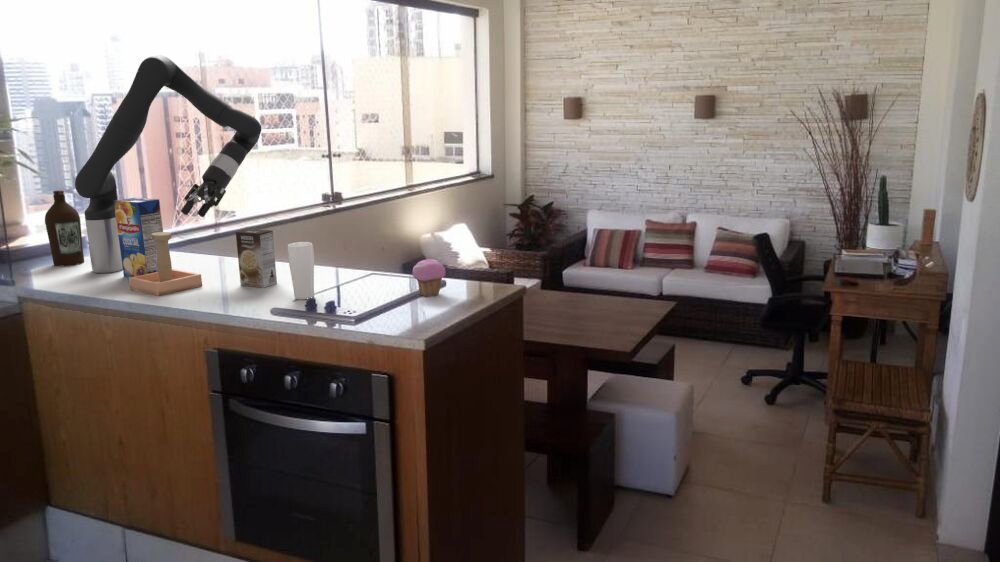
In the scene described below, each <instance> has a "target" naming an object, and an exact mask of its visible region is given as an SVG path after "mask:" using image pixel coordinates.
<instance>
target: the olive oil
mask: <svg viewBox="0 0 1000 562" xmlns="http://www.w3.org/2000/svg"><path fill="white" fill-rule="evenodd" d="M64 191H65V190H63V189H59V190H53V191H52V193H53V196H52V197H53V203H52V205H51V206H50V208H49V209H48V210H47V211H46V212H45V216H44V224H45V227H46V233H47V237H48V241H49V243H48V244H49V248H50V251H51V259H52V263H53V265H54V267H55V266H56V267H67V266H69V267H71V266H76V265H80V264H83V263H84V262H85V255H84V246H83V245H84V244H83V237H82V235H83V234H82V224H81V217H80V214H79V211H77V210H76V209H75V208H74V207H73V206H72V205H70V204H69V203H68V202H67V201H66V196H65V194H64Z"/></svg>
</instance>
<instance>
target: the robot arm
mask: <svg viewBox="0 0 1000 562" xmlns="http://www.w3.org/2000/svg"><path fill="white" fill-rule="evenodd" d="M164 87H166V88H168V89H170V90H172V91H174V92H176V93H177V94H179V95H181V96H182V97H183V98H185V99H186V100H187V101H188V102H189V103H190V104H191V105H192V106H193V107H194V108H196V110H198V112H200V113H201V114H202V115H204V117H206V118H207V119H210V120H211V121H213V122H214V123H215V124H217V125H218V126H220V127H222V128H227V127H229V128H231V129H233V130H235V133H234V135H233V136H232V137H231V139H230V141H227V142H226V143H225V144H224V146H223V147H222V149H220V151H219V153H218V154H217V155H216V156H215V157H214V159H213V160H212V161H211V162H210V165H208V167H207V168H206V170H205V172H204V173H203V175H202V177H201V179H202V183H201V184H200V185H198V184H197V183H194V184H193V185H192V187H191V188H190V189H189V191H188V192H187V193H186V195H185V196H184V200H185V201H186V203H185V204H184V206H183V207H182V208H181V210H180V213H182V214H183V215H185V216H187V215H189V213H191V211H192V209H193V207H194V206H195V205H196V204H198V203H201V202H203V201H204V202H203V203H202V205H201V206H200V207H199V209H198V211H197V216H198V215H199V216H200V217H201V218H204V217H205V216H206V215H207V213H208V211H209V210H210V209H211V208H213V207H217V206H219V204H220V202H221V201H222V199H223V197H224V196H225V194H226V193H227V190H226V188H227V187H228V186H229V184H230V183H231V181H232V179H233V177H234V176H235V175H236V174H237V172H238V169H239V168H240V166H241V165H242V163H243V161H245V158H246V156H247V155H248V154H249V153H250V152H251V150H252V149H254V147H255V146H256V145H257V143H258V142H259V140H260V135H261V133H262V124H261V123H260V122H259V121H258V119H257V118H255V117H254V116H252V115H251V114H249V113H247V112H244V111H242V110H240V109H237V108H234V107H233V106H231V105H230V104H229V103H227V102H225V100H222V99H221V98H220V97H218V96H217V95H216V94H214V93H212V92H210V91H209V90H207V88H205V87H203V86H202V85H201V84H200V83H198V82H197V81H196V80H194V79H193V78H192V77H191V76H189V75H188V74H187V73H186V72H185V71H184V70H183V69H181V68H180V66H178V65H177V64H176V63H175V62H174V61H172V59H171V58H169V57H168V56H166V55H165V56H164V55H152V56H149V57H146V58H144V60H142V61H141V63H139V66H138V69H137V71H136V74H135V76H134V78H133V80H132V83H131V85H130V88H129V90H128V91H127V94H126V95H125V97H124V98H123V99H122V101H121V103H120V105H119V106H118V108H117V109H116V110H115V112H114V114H113V116H112V117H111V119H110V121H109V123H108V124H107V126H106V128H105V131H104V132H103V133H102V136H101V138H100V139H99V141H98V142H97V145H96V146H95V149H94V150H93V152H92V154H91V155H90V157H89V158H88V160H87V161H86V163H84V165H83V167H82V168H81V169H80V170H79V172H78V173H77V175H76V177H75V179H74V187H75V190H76V193H77V194H78V195H79V196H80V197H82V198H85V199H89V203H88V206H87V207H86V209H85V210H84V218H85V219H84V220H85V227H86V232H87V233H86V234H87V239H88V240H87V241H88V242H87V244H88V249H89V250H88V251H89V257H90V265H91V270H92V273H96V274H105V273H106V274H108V273H114V272H116V273H117V272H118V271H119V272H120V271H123V266H122V259H121V252H120V244H119V237H118V230H117V222H116V215H115V207H114V201H115V200H118V193H117V192H118V191H117V190H118V188H117V183H116V179H115V176H114V174H113V173H112V172H111V171H112V169H113V168H114V167H115V165H116V164H117V163H118V162H119V161H120V160H121V159H122V158H123V157H124V156H126V154H128V152H129V151H130V150H131V149H133V147H134V146H135V144H136V143H137V141H138V140H139V138H140V136H141V134H142V133H143V131H144V129H145V127H146V123H147V122H148V121H147V120H148V116H149V111H150V108H151V106H152V103H153V102H154V100H155V98H156V97H157V96H158V94H159V93H160V91H161V90H162V88H164Z"/></svg>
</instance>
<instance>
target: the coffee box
mask: <svg viewBox="0 0 1000 562" xmlns="http://www.w3.org/2000/svg"><path fill="white" fill-rule="evenodd" d="M235 239H236V249H237V259H238V260H237V261H238V270H239V282H240V286H245V287H254V288H255V287H256V288H262V289H263V288H264V289H265V288H267V287H270V286H272V285H276V284H277V283H278V278H277V269H276V256H275V255H276V254H275V243H274V242H275V241H274V231H273V230H272V229H259V228H246V229H243V230H238V231H236V232H235Z"/></svg>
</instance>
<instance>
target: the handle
mask: <svg viewBox="0 0 1000 562" xmlns="http://www.w3.org/2000/svg"><path fill="white" fill-rule="evenodd" d="M151 236H152V239H153V240H154V241H156V250H157V267H158V275H159V279H161V280H160V282H164V281H169V280H172V279H171V278H172V269H173V267H172V260H171V254H170V247H169V240H171V239H172V233H171V232H169V231H163V232H156V233H151Z"/></svg>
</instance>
